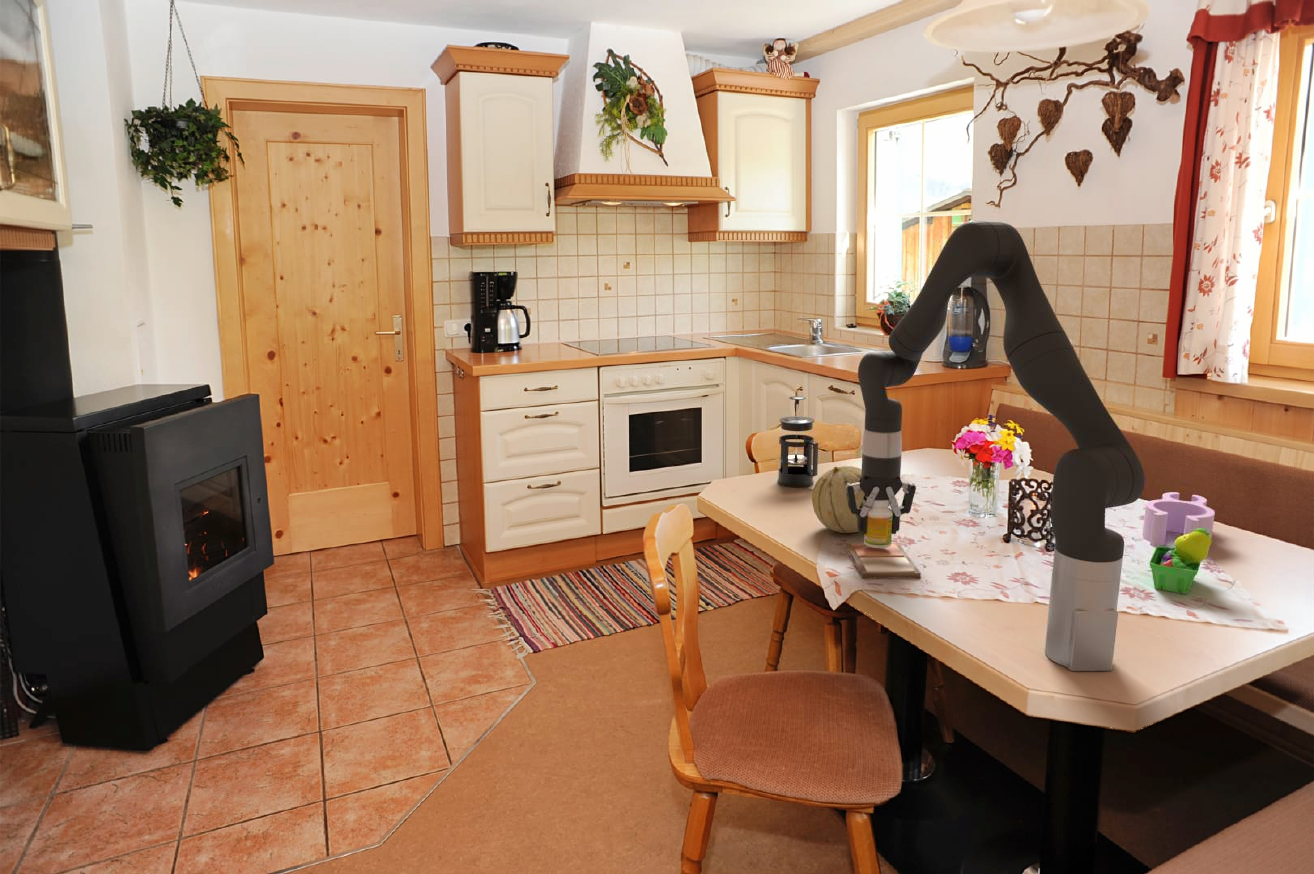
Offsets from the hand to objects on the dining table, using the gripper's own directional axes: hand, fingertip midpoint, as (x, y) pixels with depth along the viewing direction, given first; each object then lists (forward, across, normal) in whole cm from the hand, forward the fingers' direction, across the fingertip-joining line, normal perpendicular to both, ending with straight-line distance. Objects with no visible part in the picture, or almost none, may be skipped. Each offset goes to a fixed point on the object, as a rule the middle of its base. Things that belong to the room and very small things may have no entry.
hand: (878, 532), depth 176 cm
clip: (+5, +66, +11) cm, 67 cm away
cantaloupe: (+5, -4, +15) cm, 16 cm away
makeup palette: (+5, 0, -4) cm, 6 cm away
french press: (+5, -9, +53) cm, 54 cm away
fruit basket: (+5, +51, -16) cm, 54 cm away
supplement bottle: (+3, 0, 0) cm, 3 cm away
